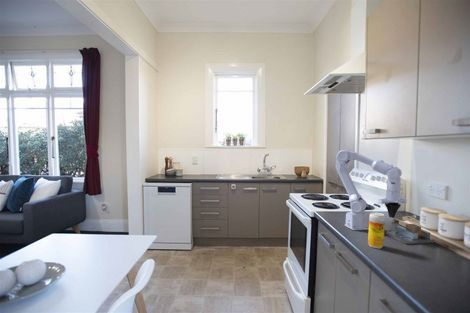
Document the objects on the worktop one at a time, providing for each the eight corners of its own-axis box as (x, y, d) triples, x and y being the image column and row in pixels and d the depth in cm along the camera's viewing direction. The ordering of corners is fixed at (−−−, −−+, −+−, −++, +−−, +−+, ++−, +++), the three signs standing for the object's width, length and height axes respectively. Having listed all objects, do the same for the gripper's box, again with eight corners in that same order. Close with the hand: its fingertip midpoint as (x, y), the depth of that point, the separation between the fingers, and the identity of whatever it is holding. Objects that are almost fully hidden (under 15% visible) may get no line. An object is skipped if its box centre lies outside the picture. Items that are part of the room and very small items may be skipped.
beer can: (375, 249, 107) (377, 216, 106) (364, 244, 113) (366, 212, 112) (386, 248, 109) (388, 215, 108) (375, 242, 115) (377, 211, 114)
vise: (405, 244, 114) (406, 234, 114) (385, 234, 126) (386, 226, 125) (434, 242, 117) (435, 233, 116) (412, 233, 128) (412, 224, 128)
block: (412, 237, 119) (413, 227, 119) (405, 233, 123) (405, 224, 123) (420, 236, 120) (421, 226, 119) (412, 233, 124) (413, 223, 124)
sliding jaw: (413, 239, 116) (413, 233, 115) (395, 231, 125) (396, 226, 125) (418, 239, 116) (418, 233, 116) (400, 231, 126) (400, 225, 126)
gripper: (386, 192, 118) (385, 220, 119) (412, 192, 121) (410, 219, 122) (376, 189, 125) (374, 215, 126) (400, 189, 128) (398, 214, 129)
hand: (391, 217), depth 124 cm, fingers closed
